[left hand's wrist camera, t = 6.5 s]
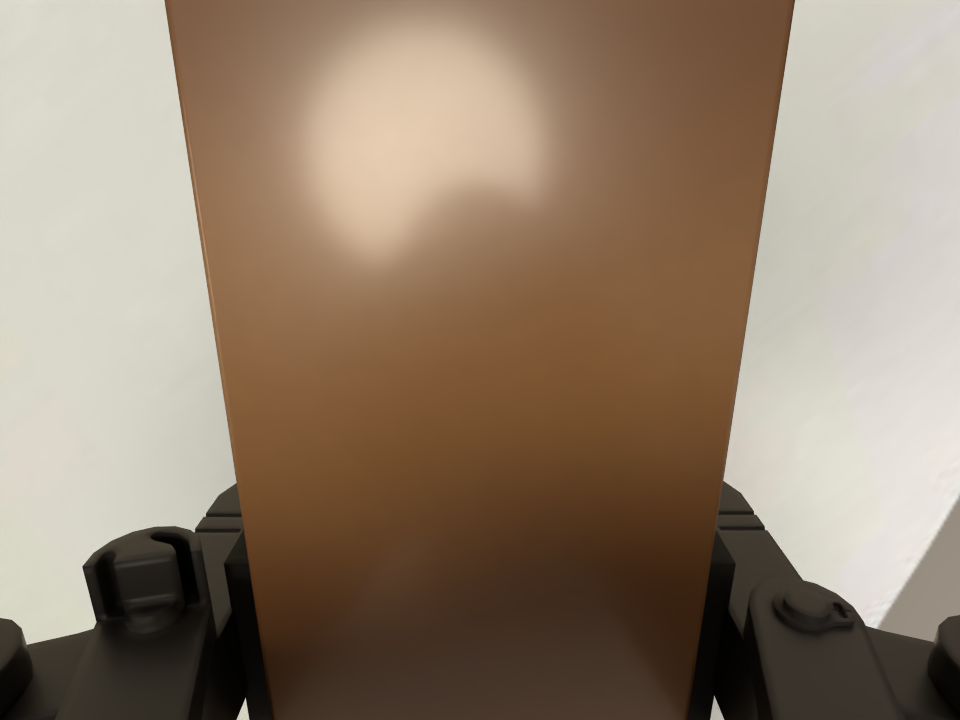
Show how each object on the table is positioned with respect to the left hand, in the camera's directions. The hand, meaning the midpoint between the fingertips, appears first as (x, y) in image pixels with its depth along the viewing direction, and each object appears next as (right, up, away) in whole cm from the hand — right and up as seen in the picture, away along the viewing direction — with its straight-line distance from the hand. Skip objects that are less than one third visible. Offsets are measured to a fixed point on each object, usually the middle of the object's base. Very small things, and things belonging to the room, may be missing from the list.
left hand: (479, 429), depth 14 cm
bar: (0, +7, -2) cm, 7 cm away
